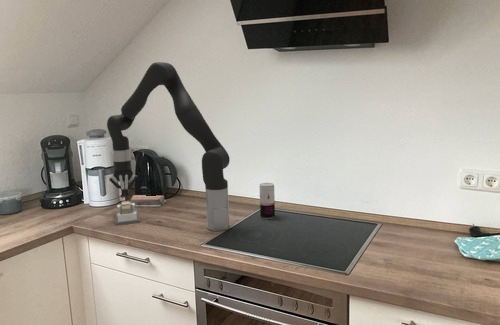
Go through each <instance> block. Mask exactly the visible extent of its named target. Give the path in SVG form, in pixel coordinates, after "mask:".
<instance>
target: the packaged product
mask: <svg viewBox="0 0 500 325" xmlns="http://www.w3.org/2000/svg"><path fill="white" fill-rule="evenodd" d="M146 195H147V194H142V195H140V194H134V195H132V197H130V199H129V201H130V204H131V203H135V208H161V207H162V206H163V205H165V204H166V203H167V199H165V196H164V195H156V196H146ZM165 202H166V203H165ZM164 203H165V204H164Z"/></svg>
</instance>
